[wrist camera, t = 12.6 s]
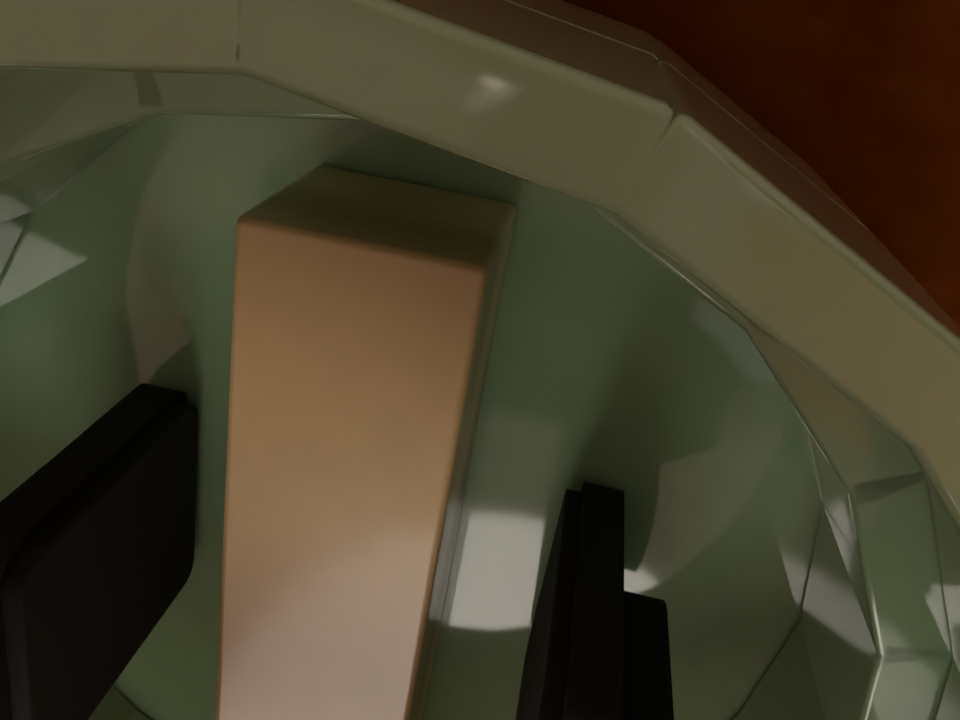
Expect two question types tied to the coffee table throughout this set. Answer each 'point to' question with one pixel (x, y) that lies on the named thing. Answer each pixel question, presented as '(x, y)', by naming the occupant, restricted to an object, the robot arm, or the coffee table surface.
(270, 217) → the rectangular block
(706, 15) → the coffee table surface
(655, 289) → the bowl
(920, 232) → the coffee table surface
